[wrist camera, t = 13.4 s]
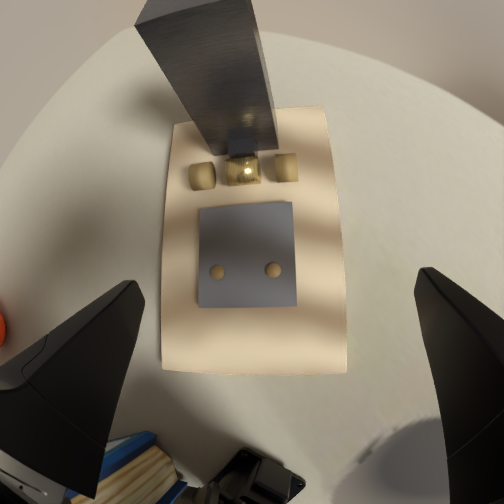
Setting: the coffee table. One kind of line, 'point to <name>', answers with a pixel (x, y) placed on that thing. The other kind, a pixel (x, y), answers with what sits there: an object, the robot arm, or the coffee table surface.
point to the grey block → (216, 76)
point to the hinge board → (254, 258)
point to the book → (134, 474)
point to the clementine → (2, 330)
